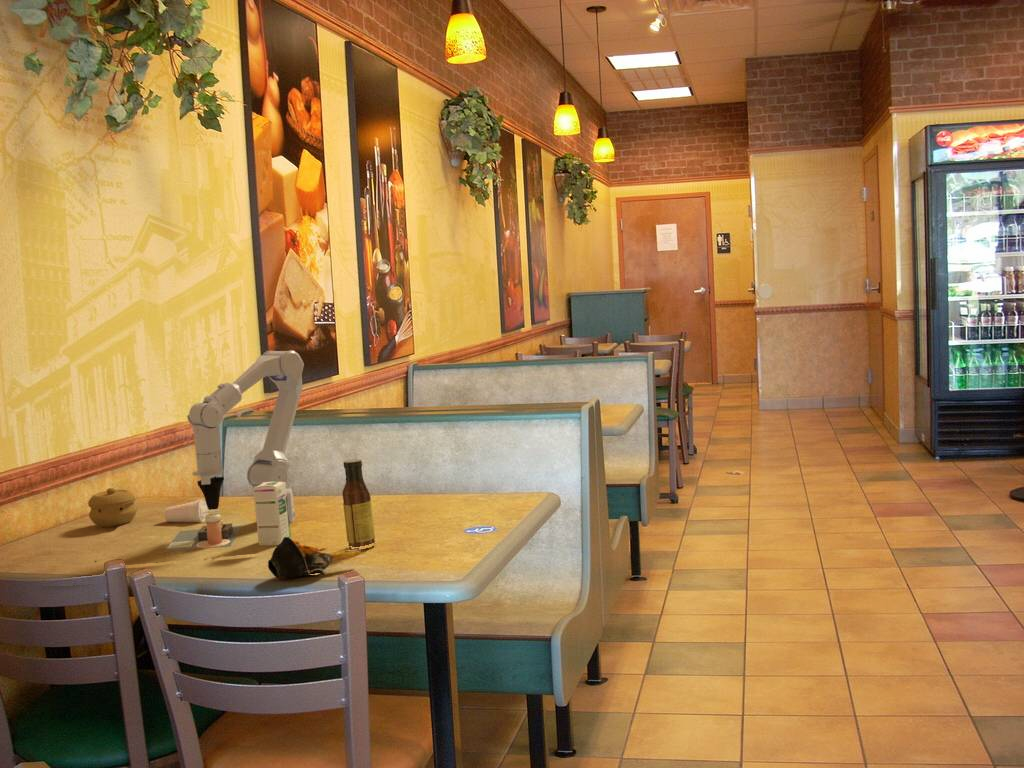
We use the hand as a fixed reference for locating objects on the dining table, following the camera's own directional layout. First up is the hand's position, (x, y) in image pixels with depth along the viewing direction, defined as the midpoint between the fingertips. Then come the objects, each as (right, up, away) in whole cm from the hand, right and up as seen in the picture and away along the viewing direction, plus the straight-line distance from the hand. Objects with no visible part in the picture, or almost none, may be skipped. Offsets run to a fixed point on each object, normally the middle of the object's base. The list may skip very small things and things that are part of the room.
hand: (213, 508), depth 255 cm
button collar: (+1, -7, +1) cm, 8 cm away
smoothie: (-17, -4, +20) cm, 27 cm away
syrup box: (+17, -8, -8) cm, 20 cm away
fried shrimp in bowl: (+31, -10, -35) cm, 48 cm away
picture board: (-2, -8, -1) cm, 8 cm away
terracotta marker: (+2, -7, -7) cm, 10 cm away
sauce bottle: (+38, -7, -15) cm, 41 cm away
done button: (0, -5, +1) cm, 5 cm away
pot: (-32, -7, +23) cm, 40 cm away
